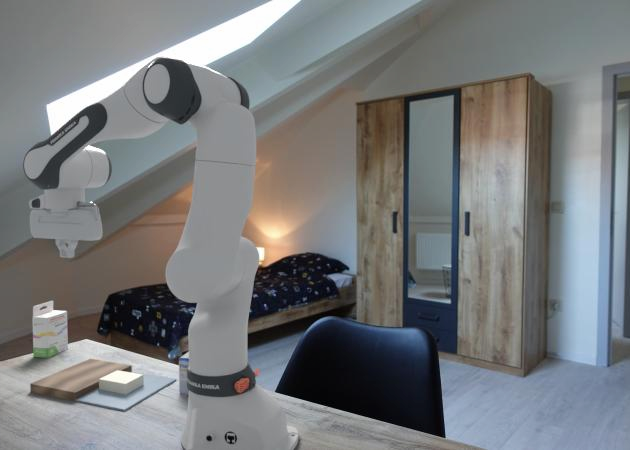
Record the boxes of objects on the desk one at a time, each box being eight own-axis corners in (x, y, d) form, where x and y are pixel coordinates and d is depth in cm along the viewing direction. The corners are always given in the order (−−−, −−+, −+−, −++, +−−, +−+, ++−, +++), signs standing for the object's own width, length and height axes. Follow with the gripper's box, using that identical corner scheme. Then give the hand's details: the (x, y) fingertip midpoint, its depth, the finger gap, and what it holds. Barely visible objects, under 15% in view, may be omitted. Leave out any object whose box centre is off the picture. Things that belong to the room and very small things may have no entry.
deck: (131, 372, 125) (131, 365, 125) (75, 401, 108) (75, 392, 108) (90, 365, 130) (90, 358, 130) (30, 391, 113) (30, 383, 113)
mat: (176, 380, 120) (176, 378, 120) (124, 411, 103) (124, 409, 103) (131, 372, 125) (131, 371, 125) (75, 401, 108) (75, 399, 108)
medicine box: (194, 380, 120) (193, 347, 119) (210, 382, 119) (210, 348, 118) (178, 393, 112) (178, 357, 112) (196, 395, 111) (195, 359, 111)
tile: (143, 384, 116) (143, 374, 116) (125, 394, 111) (125, 383, 111) (117, 379, 119) (117, 370, 119) (99, 389, 114) (98, 379, 113)
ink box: (47, 358, 135) (45, 307, 134) (32, 357, 136) (30, 306, 135) (69, 348, 144) (67, 300, 143) (55, 347, 145) (53, 299, 144)
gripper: (108, 201, 116) (109, 257, 117) (46, 200, 124) (48, 253, 125) (87, 202, 110) (89, 261, 111) (23, 201, 118) (26, 256, 119)
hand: (67, 257), depth 118 cm, fingers closed
